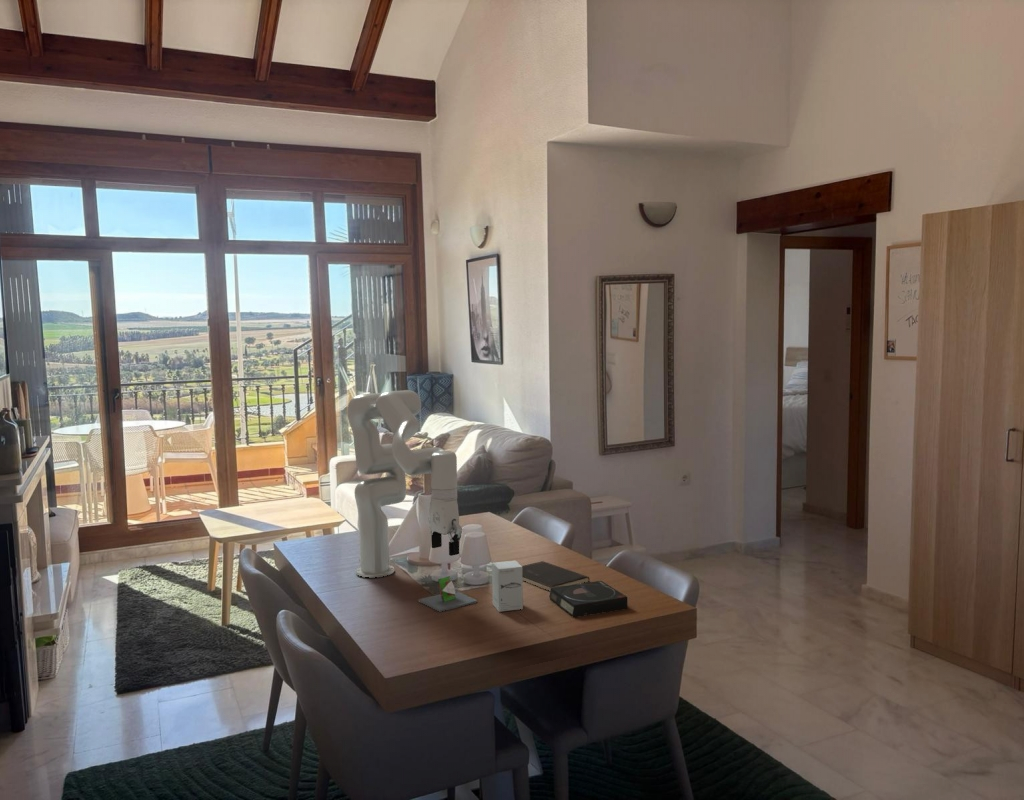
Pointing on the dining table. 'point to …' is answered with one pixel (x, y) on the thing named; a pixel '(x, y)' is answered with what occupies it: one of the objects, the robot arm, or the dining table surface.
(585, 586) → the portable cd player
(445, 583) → the geometric puzzle
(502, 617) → the dining table surface
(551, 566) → the hardcover book
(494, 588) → the supplement box
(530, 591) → the dining table surface
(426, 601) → the mat
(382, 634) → the dining table surface
